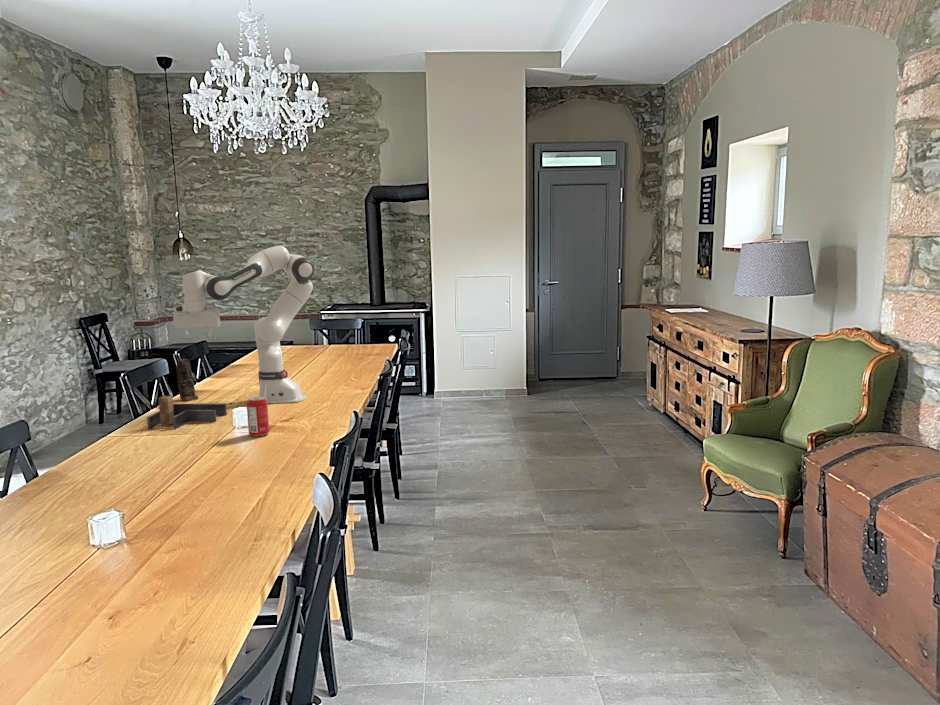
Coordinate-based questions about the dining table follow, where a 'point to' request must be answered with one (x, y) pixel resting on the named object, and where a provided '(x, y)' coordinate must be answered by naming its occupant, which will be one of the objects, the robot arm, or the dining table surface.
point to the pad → (163, 426)
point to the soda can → (257, 416)
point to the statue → (185, 380)
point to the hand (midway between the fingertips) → (198, 337)
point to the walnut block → (166, 410)
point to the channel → (190, 414)
